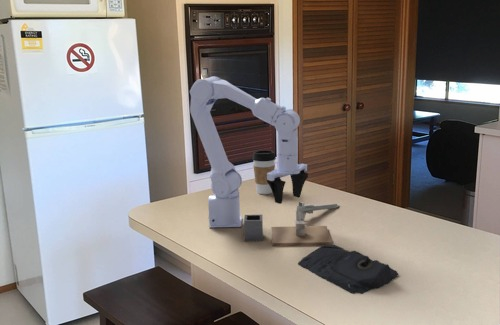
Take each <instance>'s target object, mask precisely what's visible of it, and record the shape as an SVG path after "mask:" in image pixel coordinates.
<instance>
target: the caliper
mask: <svg viewBox="0 0 500 325" xmlns="http://www.w3.org/2000/svg"><path fill="white" fill-rule="evenodd" d="M296 206H297V207H296V210H295V213H296V214H295V222H296V221H304V222H305V218H306V215H307V214H309V215H310V214H313V213H314V212H315V211H322V210H323V211H325V210H331V209H336V208H338V207H340V204H338V203H333V202H332V203H325V204H324V203H323V204H305V202H303V201H301V202H298V205H296Z"/></svg>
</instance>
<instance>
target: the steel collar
mask: <svg viewBox="0 0 500 325" xmlns="http://www.w3.org/2000/svg"><path fill="white" fill-rule="evenodd" d="M263 218H264V217H263V214H244V218H243V220H244V221H243V223H244V224H243V225H244V226H243V228H244V229H243V230H244V232H243V233H244V242H264V227H263V226H264V225H263V222H264V221H263Z"/></svg>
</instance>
